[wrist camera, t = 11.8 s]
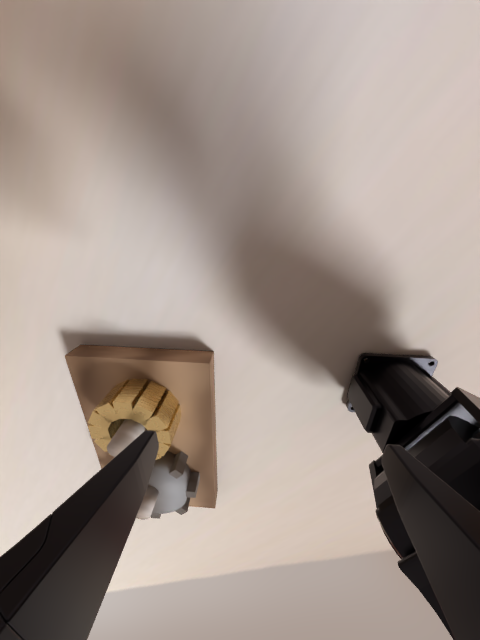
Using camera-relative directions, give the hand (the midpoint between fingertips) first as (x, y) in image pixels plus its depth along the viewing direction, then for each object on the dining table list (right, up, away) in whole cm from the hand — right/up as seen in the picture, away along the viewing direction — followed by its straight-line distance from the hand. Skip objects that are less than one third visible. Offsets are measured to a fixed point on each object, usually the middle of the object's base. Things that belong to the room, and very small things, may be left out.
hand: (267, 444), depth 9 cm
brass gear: (-10, -4, +13) cm, 17 cm away
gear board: (-10, -7, +17) cm, 21 cm away
